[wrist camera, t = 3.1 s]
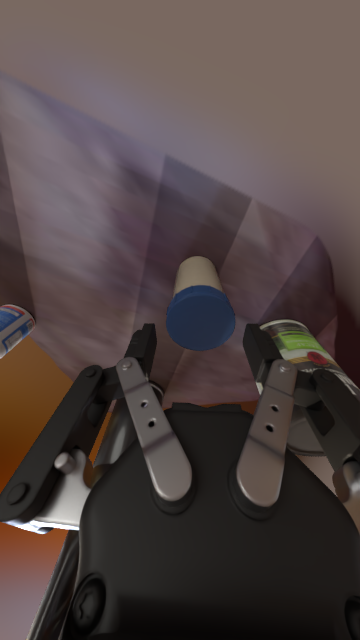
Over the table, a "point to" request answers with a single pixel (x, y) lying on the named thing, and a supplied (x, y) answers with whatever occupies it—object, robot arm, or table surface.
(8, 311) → the pill bottle
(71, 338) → the table surface
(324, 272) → the table surface
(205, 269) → the jar
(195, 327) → the lid
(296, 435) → the coffee can
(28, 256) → the table surface
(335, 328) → the table surface
